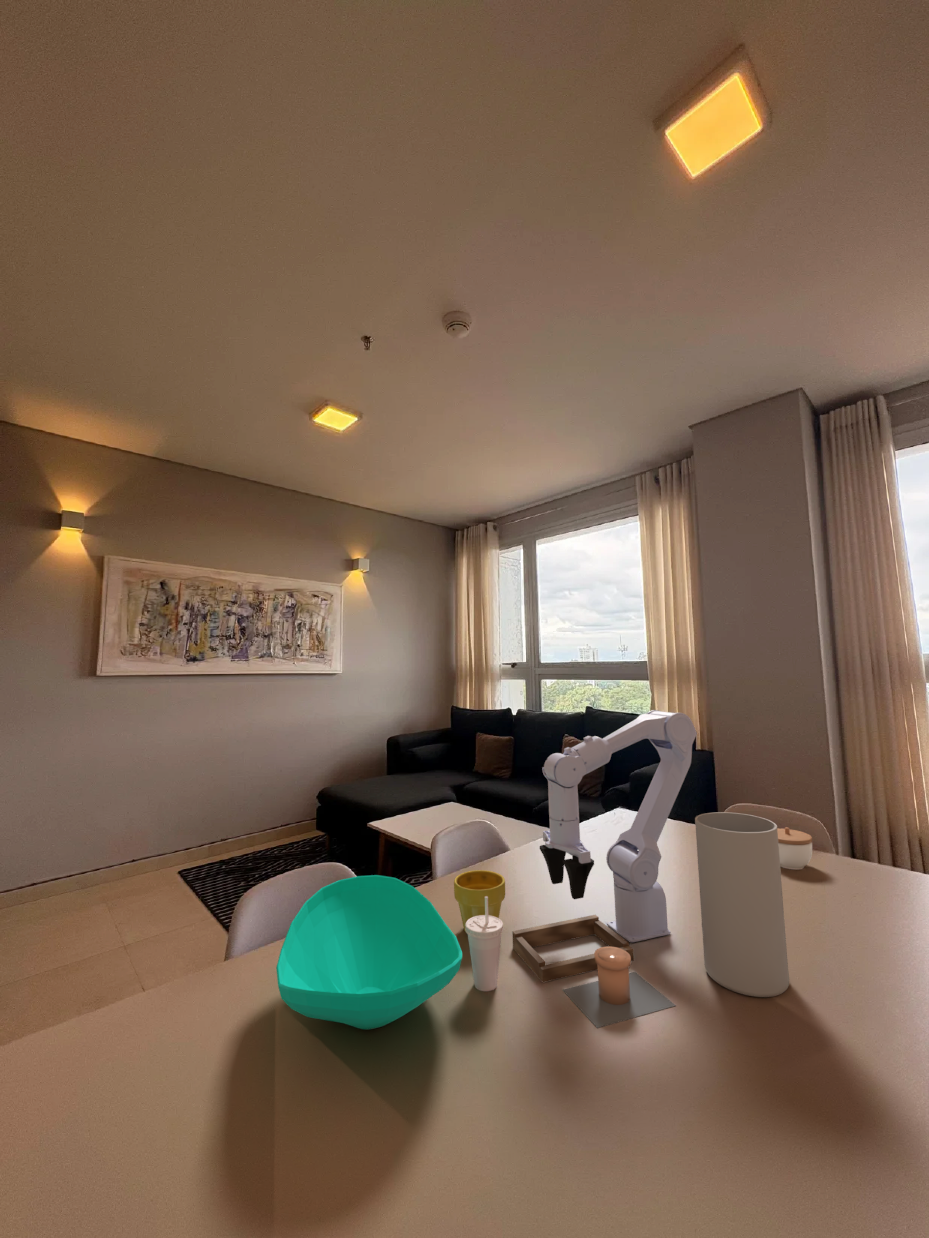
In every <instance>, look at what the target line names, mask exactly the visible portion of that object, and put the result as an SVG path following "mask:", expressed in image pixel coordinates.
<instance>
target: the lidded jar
mask: <svg viewBox="0 0 929 1238" xmlns="http://www.w3.org/2000/svg"><path fill="white" fill-rule="evenodd" d="M777 832H778V845H779V858H780V868H783V869H787V870H792V871H796V870H797V871H798V870H803V869H804V868H805V866H807V865H808V864H809V863H810V861H811V859H812V855H813V837H812V835H811V834H809V833H806V832H804V831H800V830H796V829H790V827H787V826H786V827H784V828H777Z"/></svg>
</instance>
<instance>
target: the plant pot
mask: <svg viewBox="0 0 929 1238" xmlns="http://www.w3.org/2000/svg"><path fill="white" fill-rule="evenodd" d="M453 894H454V899H455V901H456V902H457V903H458V904H457V905H458V908H459V913H460V917H461V921H462V922H461V923H462V927H463V931H464V932H465V933H466V931H465V928H466V922H467V920H468V919H470V918H472V917H475V916H480V915H485V896H487V897H488V915H489V916H494V917H497V918H499V919H500V913H501V908H502V902H503V901H504V900H505V898H506V879H505V877H504V876H503V875H502V874H501V873H498V872H495V871H492V870H488V869H487V870H486V869H480V870H479V869H477V870H476V869H474V870H469V871H464V872H462V873H459V874H458V875H456V877H455V878H454V881H453Z"/></svg>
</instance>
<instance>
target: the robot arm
mask: <svg viewBox="0 0 929 1238" xmlns="http://www.w3.org/2000/svg"><path fill="white" fill-rule="evenodd" d="M697 735H698V732H697V730H696V727H695V725H694V723H693V721H692V719H691V718H690V716H689V715H687V714H686V713H683V712H670V711H661V710H657V709H652V710H650V711H648V712H646V713H643V714H639V715H638V716H637V717H636V718H635V719H633V720H632V721H630V722H629V723H626V724H625V725H623V726H622V727H620V728H618V729H617V730H615V731H613V732H611V733H610V734H608V735H606V736H604V737H603V738H602V737H599V736H596V735H594V736H591V735H587V736H585V737H583V741H581V742H579V743H578V744H576V745H574V746H571V747H569V746H567V747H565V748H563V753H561V752H555V753H552V754H550V755H549V756H548V757H547V758H546V760H545V762H544V764H543V766H542V767H541V768H542V769H541V770H542V773H543V776H544V777H545V778H546V780H547V786H548V787H547V788H548V789H547V791H548V793H547V795H548V815H549V819H548V820H549V821H548V822H549V829H548V830H543V831H542V841H543V842H545V843H544V844H541V845H540V846H539V850H540V852H541V854H542V856H543V858H544V860H545V863H546V865H547V871H548V874H549V878H550V881H551V884H553V885H556V884H562V883H563V881H564V871H565V870H566V873H567V877H568V881H569V889H570V895H571V898H572V899H573V900H579V899H583V898H584V896H585V892H586V886H587V881H588V878H589V875H590V873H591V871H592V869H593V867H594V865H595V860H594V859H593V858H591V851H590V850H589V849H587V847H586V846H585V844H584V843H583V842H582V840H581V831H580V810H579V808H580V806H579V791H578V790H579V789H578V785H579V784H580V783H581V781H582V779H583V777H584V776H585V775H587V774H590V773H591V772H593V771H595V770H597V769H598V768H600V767H603V766H605V765H606V764H608V763H609V762H610V760H611V757H612V754H614V753H616V752H618V751H620V750H623V749H625V748H627V747H629V746H631V745H634V744H636V743H638V742H640V741H642V740H646V739H648V740H649V742H650V743H651V744H652V745H653V747H654V748H655V750H656V751H657V753H658V755H659V758H660V762H659V764H658V766H657V768H656V771H655V773H654V774H653V777H652V780H651V781H650V784H649V786H648V788H647V791H646V793H645V795H644V798H642V799H643V800H642V802H641V804H640V806H639V809H638V811H637V813H636V816H635V818H634V820H633V822H632V824H631V826H630V828H629V829H627V830H625V831H624V832H623V831H622V832H621V833H620V834H619V836H618V839H616V841H615V842H614V843H613V844H612V845H611V846H610V847H609V848H608V850H607V853H606V857H605V858H606V864H607V866H608V868H609V870H610V871H611V872H612V876H613V890H614V892H613V893H614V913H615V920H612V921H607V922H606V926H608V927H609V928H610V929H611V930H613V931H614V932H615V933H617V934H618V935H619V936H621V937H622V938H623V939H625V940H626V941H627V942H629V943H635V942H640V941H645V940H649V939H650V940H651V939H655V938H659V937H662V936H668V935H671V930H670V929H669V927H668V924H669V923H668V912H667V909H668V908H667V897H666V893H665V891H664V889H663V887H662V885H661V884H660V883H659V882H658V881H657V880H658V877H659V865H660V861H661V859H662V854H661V851H660V850H659V846H658V841H659V839H660V838H661V837H660V836H661V834H662V832H663V829H664V828H665V825H666V823H667V820H668V819H669V818H668V817H669V816H670V813H671V812H672V809H673V806H674V804H675V802H676V799H677V797H678V795H679V792H680V790H681V788H682V785H683V783H684V781H685V778H686V777H687V774H688V771H689V769H690V767H691V764H692V756H693V754H692V753H693V744H694V742H695V739H696V736H697ZM566 854H568V855H569V856H572V857H571V858H566Z"/></svg>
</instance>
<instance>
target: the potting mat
mask: <svg viewBox="0 0 929 1238" xmlns="http://www.w3.org/2000/svg"><path fill="white" fill-rule="evenodd" d="M629 984H630V1000H629V1002H627V1003H626V1004H622V1005H614V1004H609V1003H607V1002H605V1001H603V1000H602V999H601V998H600V996H599V988H598V980H595V981H592V982H587V983H583V984H579V985H575V986H572V987H567V988H563V989H562V991H563V993H565V995H566V996H567V997H568V998H569V999H570V1000H571V1001H572V1003H573V1004H574V1005H575V1006H576V1007H577V1008H578V1009H579V1010H580V1011H581V1013H583V1015H585V1017H586V1018H587V1019H588V1020H589V1021H590V1022H591V1024H593V1026H594V1027H595V1028H596V1029H599V1028H603V1027H607V1026H610V1025H615V1024H617V1023H620V1022H624V1021H628V1020H632V1019H635V1018H639V1017H643V1016H645V1015H649V1014H653V1013H657V1012H660V1011H665V1010H667V1009H671V1008H674V1007H677V1005H676V1004H675V1003H674V1002H672V1001H671V1000H670V999H669V998H668V997H667V996H665V995H664V993H661V991H660V990H658V989H657V988H656V987H654V986H653V985H652V984H651V983H649V981H647V980H646V979H644V978H643V977H642V976H641V975H640V974H638V973H637V972H636V971H633V972H629Z"/></svg>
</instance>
